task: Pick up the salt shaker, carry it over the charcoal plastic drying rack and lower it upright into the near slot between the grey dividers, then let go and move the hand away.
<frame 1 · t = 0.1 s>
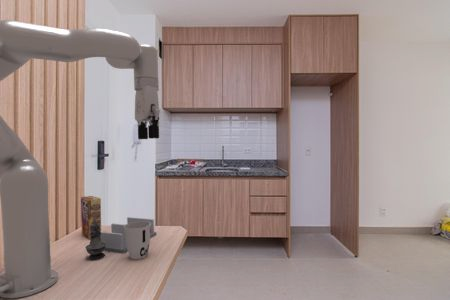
hand: (148, 138, 88), 37 cm above the table, tool pointing down, fingers open, 9 cm apart
candy box: (91, 236, 106), on the table
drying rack: (125, 241, 100), on the table
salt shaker: (96, 257, 87), on the table
cup: (138, 256, 86), on the table
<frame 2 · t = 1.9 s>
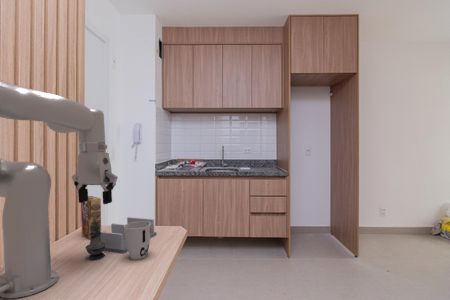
hand: (95, 202, 87), 17 cm above the table, tool pointing down, fingers open, 9 cm apart
nothing on the table moved.
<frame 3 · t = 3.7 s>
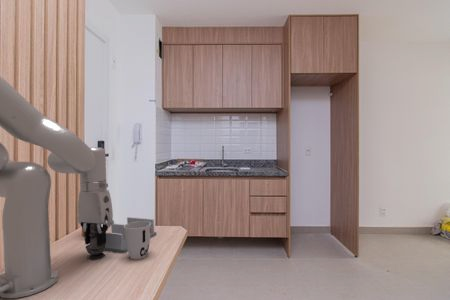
hand: (95, 243, 87), 4 cm above the table, tool pointing down, fingers closed on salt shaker, 4 cm apart
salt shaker: (96, 257, 87), on the table, touching gripper
everything else where it was.
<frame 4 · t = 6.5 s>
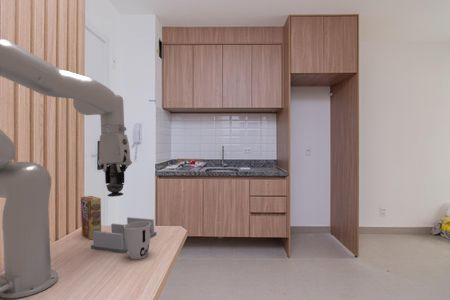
hand: (115, 182, 95), 22 cm above the table, tool pointing down, fingers closed on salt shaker, 4 cm apart
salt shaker: (115, 195, 95), point 18 cm above the table, touching gripper
everything else where it was.
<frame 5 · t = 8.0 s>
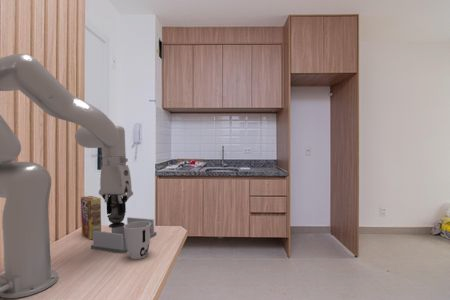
hand: (116, 213, 95), 11 cm above the table, tool pointing down, fingers closed on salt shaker, 4 cm apart
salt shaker: (116, 225, 96), point 7 cm above the table, touching gripper
everything else where it was.
when the fingers open (7 cm above the table, at t = 9.2 s): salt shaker drops 2 cm, resting on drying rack.
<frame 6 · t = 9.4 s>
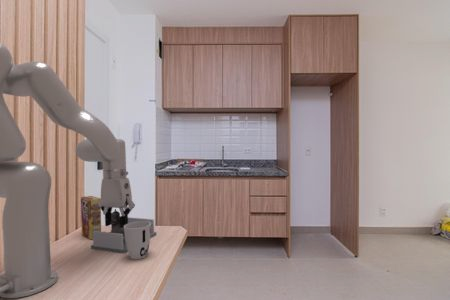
hand: (116, 225, 95), 7 cm above the table, tool pointing down, fingers open, 5 cm apart
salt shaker: (116, 243, 96), point 1 cm above the table, touching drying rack
everything else where it was.
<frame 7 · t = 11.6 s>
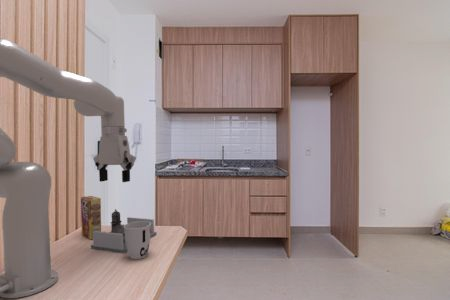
hand: (114, 181, 95), 23 cm above the table, tool pointing down, fingers open, 9 cm apart
nothing on the table moved.
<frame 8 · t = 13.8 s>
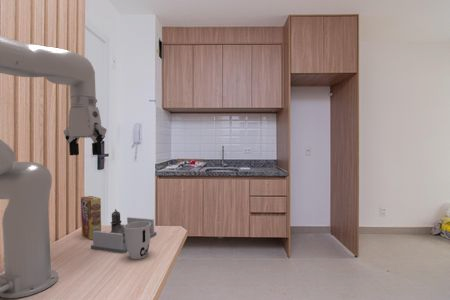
hand: (85, 155, 91), 32 cm above the table, tool pointing down, fingers open, 9 cm apart
nothing on the table moved.
at the end: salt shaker inside the target area on the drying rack (0.1 cm from its centre), point 0.8 cm above the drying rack's base; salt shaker tilted 0°; the gripper is holding nothing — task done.
